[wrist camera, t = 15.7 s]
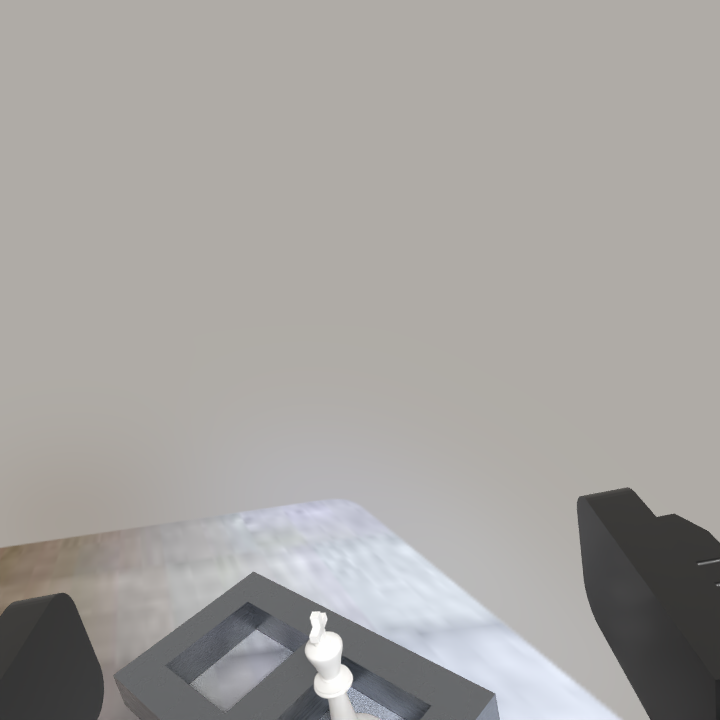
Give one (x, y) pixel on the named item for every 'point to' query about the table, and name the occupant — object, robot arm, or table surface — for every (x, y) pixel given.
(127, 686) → the grey two-window frame
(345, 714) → the chess piece
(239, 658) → the table surface
